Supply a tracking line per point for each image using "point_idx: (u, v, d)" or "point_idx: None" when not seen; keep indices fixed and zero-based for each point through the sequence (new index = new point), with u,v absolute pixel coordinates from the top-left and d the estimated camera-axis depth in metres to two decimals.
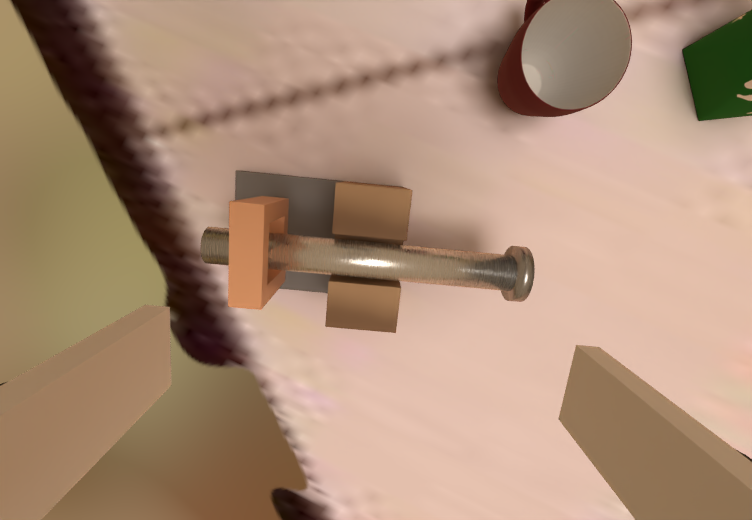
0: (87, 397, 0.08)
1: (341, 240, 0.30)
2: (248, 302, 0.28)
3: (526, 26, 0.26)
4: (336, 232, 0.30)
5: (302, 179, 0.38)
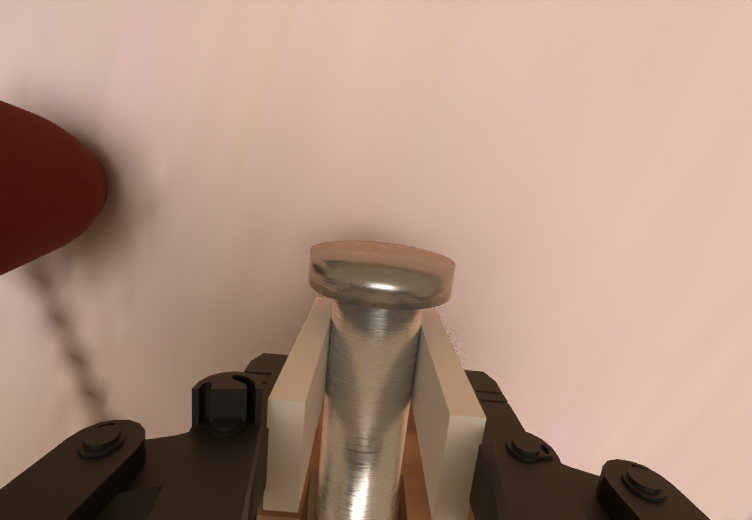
0: (322, 366, 0.11)
1: None
2: None
3: None
4: None
5: None
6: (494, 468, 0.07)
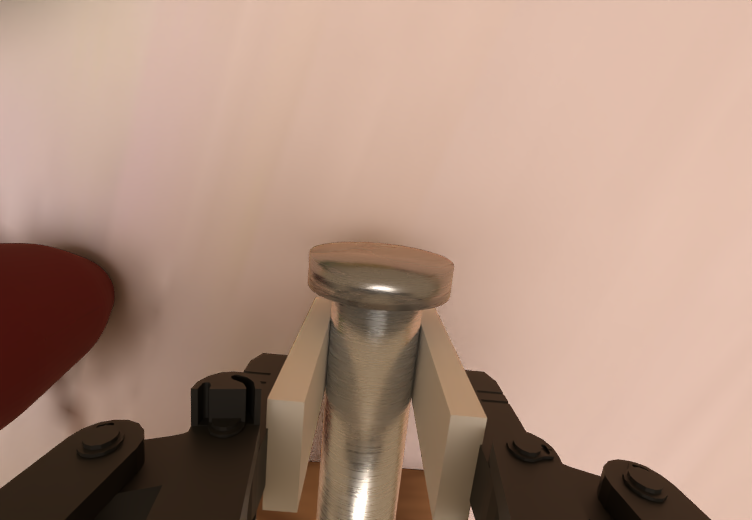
0: (321, 366, 0.11)
1: None
2: None
3: None
4: None
5: None
6: (494, 468, 0.07)
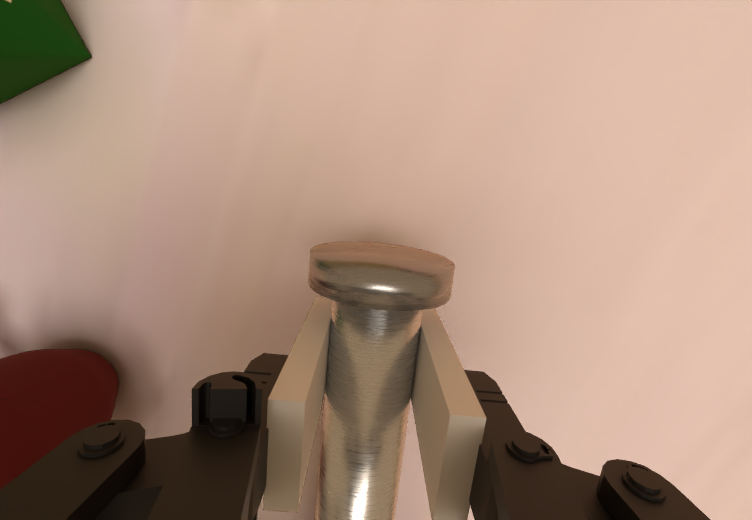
0: (322, 366, 0.11)
1: None
2: None
3: None
4: None
5: None
6: (494, 468, 0.07)
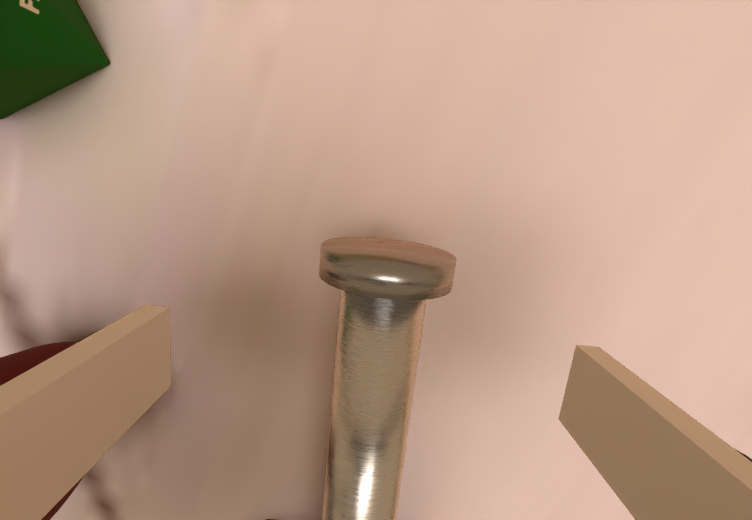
0: (87, 397, 0.08)
1: None
2: None
3: None
4: None
5: None
6: None
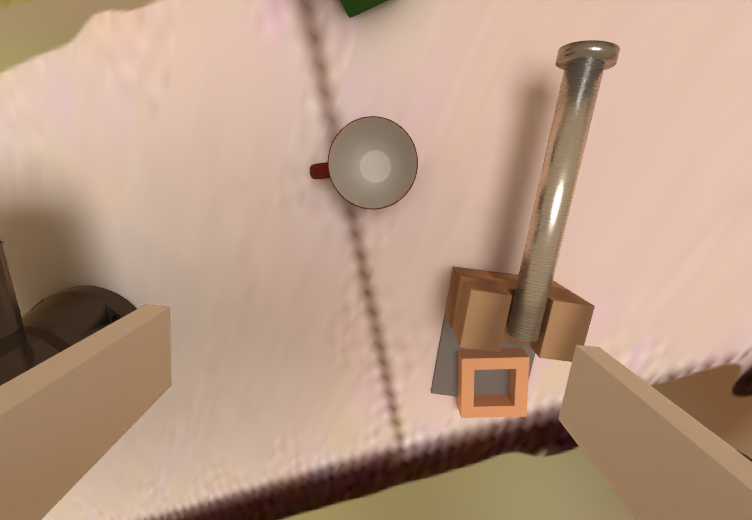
0: (87, 397, 0.08)
1: (532, 227, 0.34)
2: None
3: (353, 204, 0.34)
4: (499, 349, 0.37)
5: (441, 345, 0.47)
6: None
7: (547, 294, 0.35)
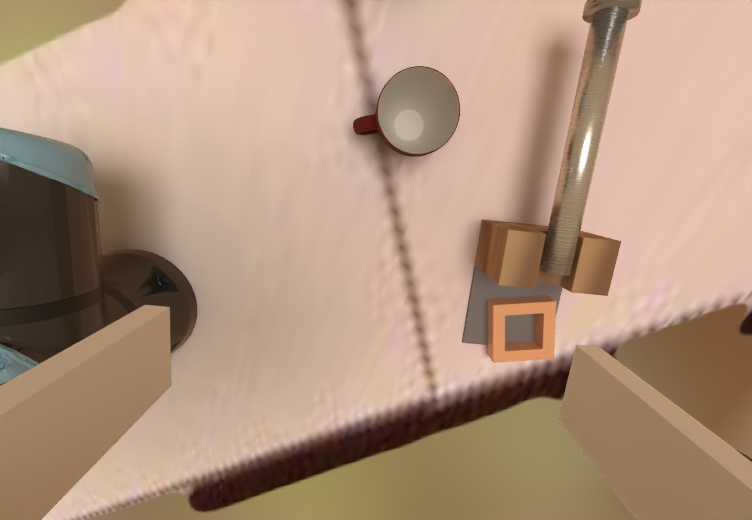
0: (87, 397, 0.08)
1: (563, 168, 0.37)
2: None
3: (400, 150, 0.36)
4: (534, 285, 0.40)
5: (472, 296, 0.50)
6: None
7: (579, 230, 0.38)
